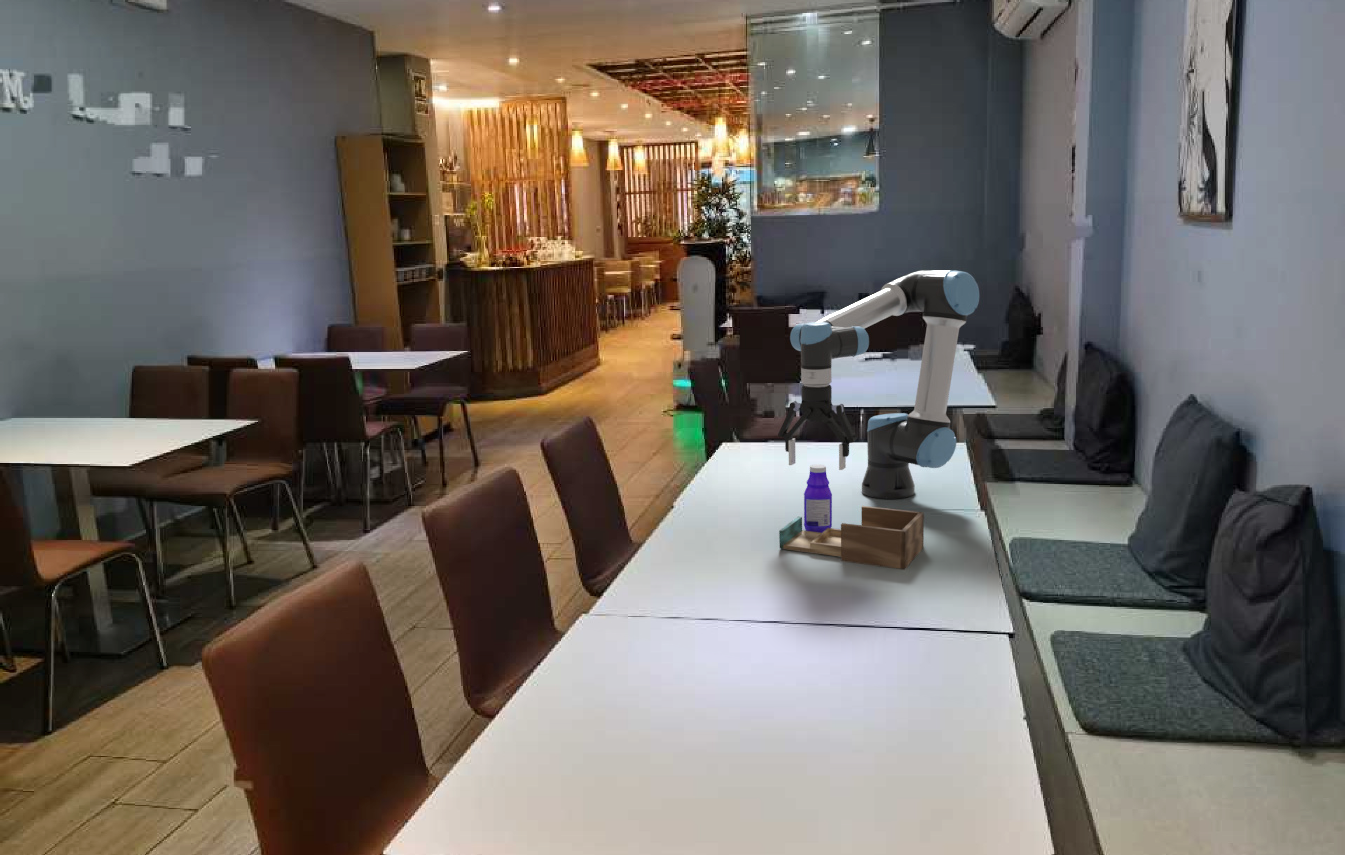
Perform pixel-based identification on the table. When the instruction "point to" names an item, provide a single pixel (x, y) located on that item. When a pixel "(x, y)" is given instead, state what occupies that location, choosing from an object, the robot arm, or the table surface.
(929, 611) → the table surface
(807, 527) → the bottle
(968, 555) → the table surface
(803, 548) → the tray
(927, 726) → the table surface
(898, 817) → the table surface
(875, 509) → the housing
